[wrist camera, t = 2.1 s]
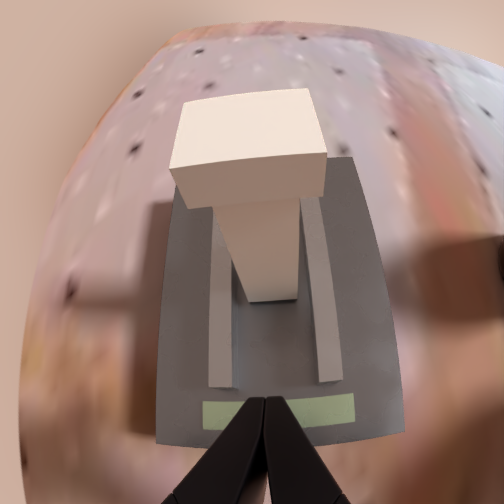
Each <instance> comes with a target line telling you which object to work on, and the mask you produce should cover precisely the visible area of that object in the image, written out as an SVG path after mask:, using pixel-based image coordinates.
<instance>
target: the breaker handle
mask: <svg viewBox="0 0 504 504" xmlns="http://www.w3.org/2000/svg"><path fill="white" fill-rule="evenodd" d="M326 161H327V150H326V146H325V143H324V139H323V136H322V132H321V129H320V125H319V122H318V119H317V115H316V112H315V109H314V106H313V102H312V99H311V96H310V93H309V90H308V88H304V89H287V90H273V91H262V92H252V93H243V94H235V95H228V96H221V97H214V98H208V99H202V100H196V101H190V102H185V103H184V105H183V109H182V113H181V117H180V121H179V125H178V130H177V134H176V138H175V143H174V147H173V152H172V157H171V161H170V166H169V170H170V172H171V174H172V176H173V179H174V181H175V183H176V185H177V187H178V189H179V191H180V194H181V196H182V198H183V200H184V202H185V204H186V206H187V208H188V209H193V208H202V207H211V206H212V208H213V211H214V213H215V216H216V219H217V221H218V224H219V226H220V229H221V232H222V234H223V237H224V240H225V242H226V245H227V248H228V250H229V253H230V255H231V258H232V261H233V263H234V266H235V268H236V271H237V274H238V276H239V279H240V281H241V284H242V286H243V289H244V292H245V294H246V297H247V299H248V302H261V301H275V300H288V299H297V292H298V263H299V211H300V198H311V197H323V194H324V183H325V173H326Z"/></svg>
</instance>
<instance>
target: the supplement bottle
mask: <svg viewBox="0 0 504 504" xmlns="http://www.w3.org/2000/svg"><path fill="white" fill-rule="evenodd" d="M499 263H500V269H501V273H502V277H503V279H504V239H503V240H502V243H501V246H500V251H499Z"/></svg>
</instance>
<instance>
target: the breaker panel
mask: <svg viewBox="0 0 504 504" xmlns="http://www.w3.org/2000/svg"><path fill="white" fill-rule="evenodd" d="M268 396H283V397H284V399H285V400H286V402H287V404H288V405H289V407H290V409H291V410H292V412H293V414H294V415H295V417H296V419H297V420H298V422H299V424H300V425H301V427H302V429H303V430H304V432H305V433H306V435H307V437H308V438H309V440H310V442H311V443H312V445H313V446H323V445H331V444H339V443H346V442H353V441H359V440H365V439H371V438H376V437H382V436H386V435H391V434H396V433H400V432H405V423H404V408H403V395H402V385H401V375H400V366H399V358H398V351H397V343H396V337H395V330H394V324H393V318H392V312H391V306H390V301H389V296H388V291H387V286H386V281H385V276H384V271H383V267H382V262H381V258H380V253H379V249H378V245H377V241H376V237H375V233H374V229H373V225H372V221H371V218H370V214H369V210H368V207H367V203H366V200H365V196H364V193H363V190H362V186H361V183H360V180H359V177H358V173H357V170H356V167H355V164H354V161H353V158H352V157H336V158H327V161H326V173H325V183H324V194H323V197H311V198H300V211H299V263H298V292H297V299H288V300H275V301H261V302H248V299H247V297H246V294H245V292H244V289H243V286H242V284H241V281H240V279H239V276H238V274H237V271H236V268H235V266H234V263H233V261H232V258H231V255H230V253H229V250H228V248H227V245H226V242H225V240H224V237H223V234H222V232H221V229H220V226H219V224H218V221H217V219H216V216H215V213H214V211H213V208H212V206H211V207H202V208H193V209H188V208H187V206H186V204H185V202H184V200H183V198H182V196H181V194H180V191H179V189H178V187H177V185H176V188H175V194H174V200H173V207H172V214H171V221H170V228H169V235H168V243H167V251H166V260H165V269H164V278H163V288H162V299H161V311H160V324H159V339H158V357H157V382H156V444H163V445H171V446H181V447H193V448H208V449H209V447H210V446H211V445H212V444H213V443H214V441H215V440H216V439H217V438H218V436H219V435H220V434H221V432H222V431H223V430H224V429H225V427H226V426H227V425H228V423H229V422H230V421H231V420H232V418H233V417H234V416H235V414H236V413H237V412H238V410H239V409H240V408H241V406H242V405H243V404H244V402H245V401H246V400H247V399H248V398H249V397H265V399H266V397H268Z"/></svg>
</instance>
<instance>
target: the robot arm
mask: <svg viewBox="0 0 504 504" xmlns="http://www.w3.org/2000/svg"><path fill="white" fill-rule="evenodd" d="M267 477H268V480H269V488H270V495H271V502H272V504H351V503H350V502H349V500H348V499H347V497H346V496H345V494H342V490H341V489H340V487H339V485H338V484H337V482H336V481H335V479H334V478H333V476H332V475H331V473H330V472H329V470H328V468H327V467H326V465H325V464H324V462H323V461H322V459H321V457H320V456H319V454H318V453H317V451H316V450H315V448H314V446H313V445H312V443H311V442H310V440H309V438H308V437H307V435H306V433H305V432H304V430H303V429H302V427H301V425H300V424H299V422H298V420H297V419H296V417H295V415H294V414H293V412H292V410H291V409H290V407H289V405H288V404H287V402H286V400H285V399H284V397H283V396H268V397H266V399H265V397H249V398H248V399H247V400H246V401H245V402H244V404H243V405H242V406H241V408H240V409H239V410H238V412H237V413H236V414H235V416H234V417H233V418H232V420H231V421H230V422H229V423H228V425H227V426H226V427H225V429H224V430H223V431H222V432H221V434H220V435H219V436H218V438H217V439H216V440H215V441H214V443H213V444H212V445H211V446H210V447H209V449H208V450H207V451H206V452H205V454H204V455H203V456H202V457H201V458H200V460H199V461H198V462H197V463H196V465H195V466H194V467H193V468H192V469H191V470H190V472H189V473H188V474H187V475H186V476H185V477H184V479H183V480H182V481H181V482H180V483H179V484H178V486H177V487H176V488H175V489H174V490H173V494H172V493H170V494H169V495H168V497H167V498H166V499H165V500H164V501H163V502H162V503H161V504H263V502H264V496H265V491H266V485H267Z"/></svg>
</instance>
